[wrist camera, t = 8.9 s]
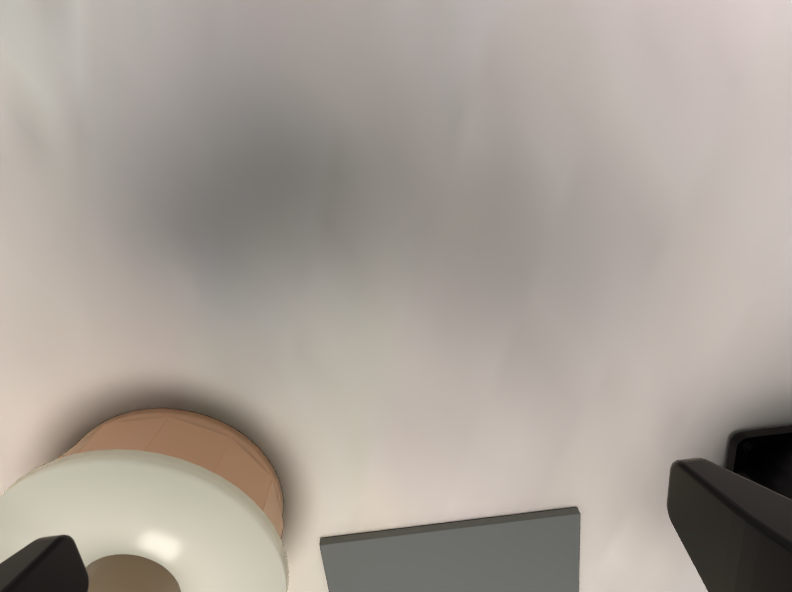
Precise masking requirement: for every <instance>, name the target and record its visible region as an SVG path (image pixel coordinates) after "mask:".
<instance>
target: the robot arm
mask: <svg viewBox="0 0 792 592" xmlns="http://www.w3.org/2000/svg"><path fill="white" fill-rule="evenodd" d="M745 443H746V444H745ZM744 444H745V445H744ZM667 510H668V514H669V517H670V520H671V522H672V524H673V526H674V528H675V530H676V532H677V533H678V535H679V537H680V539H681V541H682V543H683V545H684V547H685V549H686V550H687V552H688V554H689V556H690V558H691V560H692V562H693V564H694V566H695V567H696V569H697V571H698V573H699V575H700V577H701V579H702V581H703V583H704V584H705V586H706V588H707V590H708V592H792V426H788V427H780V428H772V429H763V430H755V431H747V432H741V433H738V434H736V435H735V436H734V437H733V438H732V439H731V442H730V447H729V454H728V461H727V469H725V468H723V467H721V466H719V465H717V464H715V463H712V462H710V461H708V460H706V459H703V458H692V459H683V460H677V461H675V462H673V463H672V465H671V468H670V476H669V487H668V497H667ZM88 587H89V575H88V572H87V570H86V567H85V565H84V562H83V560H82V558H81V555H80V553H79V550H78V548H77V546H76V543H75V541H74V539H73V538H72V537H70V536H69V535H55V536H47V537H42V538H38V539H36V540H34V541H33V542H31V543H30V544H28V545H27V546H25V547H24V548H22V549H21V550H19V551H18V552H16V553H15V554H13V555H12V556H10V557H9V558H8V559H6V560H5V561H3V562H2V563H0V592H88Z"/></svg>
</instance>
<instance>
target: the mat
mask: <svg viewBox="0 0 792 592" xmlns="http://www.w3.org/2000/svg"><path fill="white" fill-rule="evenodd" d="M320 550H321V555H322V560H323V565H324V570H325V575H326V580H327V584H328V589H329V592H579V560H580V512H579V510H578V508H577V507H575V508H567V509H559V510H551V511H542V512H534V513H526V514H518V515H510V516H501V517H493V518H485V519H477V520H468V521H460V522H452V523H444V524H436V525H427V526H419V527H411V528H403V529H394V530H386V531H378V532H370V533H361V534H353V535H345V536H337V537H329V538H320Z"/></svg>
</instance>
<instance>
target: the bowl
mask: <svg viewBox="0 0 792 592" xmlns="http://www.w3.org/2000/svg"><path fill="white" fill-rule="evenodd" d="M109 449H125V450H141V451H147V452H154V453H160V454H164V455H168V456H172V457H176V458H179V459H183V460H185V461H188V462H191V463H193V464H196V465H199V466H201V467H203V468H205V469H207V470H209V471H211V472H213V473H215V474H217V475H219V476H221V477H223V478H224V479H226V480H227V481H229V482H230V483H232V484H233V485H235V486H236V487H238V488H239V489H240V490H241V491H243V492H244V493H245V494H246V495H247V496H249V497H250V498H251V499H252V500H253V501H254V502H255V503H256V504H257V505H258V506H259V507H260V509H261V510H262V511H263V512H264V513H265V514H266V516H267V517H268V519H269V520H270V521H271V523H272V524H273V526H274V527H275V529H276V531H277V533H278V535H279V537H280V539H281V537H282V532H283V528H284V525H283V520H282V515H283V495H282V489H281V486H280V482H279V479H278V477H277V475H276V473H275V470H274V468H273V466H272V465H271V463H270V462H269V461H268V459H267V458H266V456H265V455H264V454H263V453H262V452H261V450H260V449H259V448H258V447H257V446H256V445H255V444H254V443H253V442H251V441H250V440H249V439H248V438H247V437H246V436H244V435H243V434H241V433H240V432H238V431H237V430H236V429H234V428H232V427H230V426H228V425H227V424H225V423H223V422H221V421H218V420H216V419H213V418H211V417H208V416H206V415H202V414H198V413H195V412H191V411H184V410H178V409H164V408H158V409H144V410H138V411H133V412H128V413H125V414H122V415H119V416H116V417H113V418H111V419H109V420H107V421H105V422H103V423H101V424H100V425H98V426H96V427H95V428H93V429H92V430H91V431H90V432H88V433H87V434H86V435H85V436H84V437H83V438H82V439H81V440H80V441H79V442H78V443H77V444H76V445H75V446H74V447H72V448H71V449H70V450H68V451H67V452H66V453H64V454H63V455H62V456H60V457H58V458H57V459H59V458H62V457H65V456H69V455H72V454H77V453H82V452H88V451H94V450H109Z"/></svg>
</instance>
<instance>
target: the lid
mask: <svg viewBox="0 0 792 592" xmlns="http://www.w3.org/2000/svg"><path fill="white" fill-rule="evenodd" d="M55 535H69V536H70V537H72V538H73V539H74V541H75V543H76V546H77V548H78V550H79V553H80V555H81V558H82V560H83V562H84V565H85V567H86V570H87V572H88V575H89V587H88V592H287V590H288V579H289V569H288V563H287V556H286V553H285V550H284V547H283V544H282V541H281V539H280V537H279V535H278V533H277V531H276V529H275V527H274V526H273V524H272V523H271V521H270V520H269V519H268V517H267V516H266V514H265V513H264V512H263V511H262V510H261V509H260V507H259V506H258V505H257V504H256V503H255V502H254V501H253V500H252V499H251V498H250V497H249V496H247V495H246V494H245V493H244V492H243V491H241V490H240V489H239V488H238V487H236V486H235V485H233V484H232V483H230V482H229V481H227V480H226V479H224V478H223V477H221V476H219V475H217V474H215V473H213V472H211V471H209V470H207V469H205V468H203V467H201V466H199V465H196V464H193V463H191V462H188V461H185V460H183V459H179V458H176V457H172V456H168V455H164V454H160V453H154V452H147V451H141V450H125V449H109V450H94V451H88V452H82V453H77V454H72V455H69V456H65V457H62V458H59V459H56V460H53V461H50V462H48V463H46V464H44V465H42V466H39V467H37V468H35V469H34V470H32V471H30V472H29V473H27V474H26V475H24V476H23V477H21V478H20V479H18V480H17V481H16V482H15V483H14V484H13V485H12V486H10V487H9V488H8V489H7V490H6V491H5V492H4V493H3V494H2V495H1V496H0V563H2V562H3V561H5V560H6V559H8V558H9V557H10V556H12V555H13V554H15V553H16V552H18V551H19V550H21V549H22V548H24V547H25V546H27V545H28V544H30V543H31V542H33V541H34V540H36V539H38V538H42V537H47V536H55Z"/></svg>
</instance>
